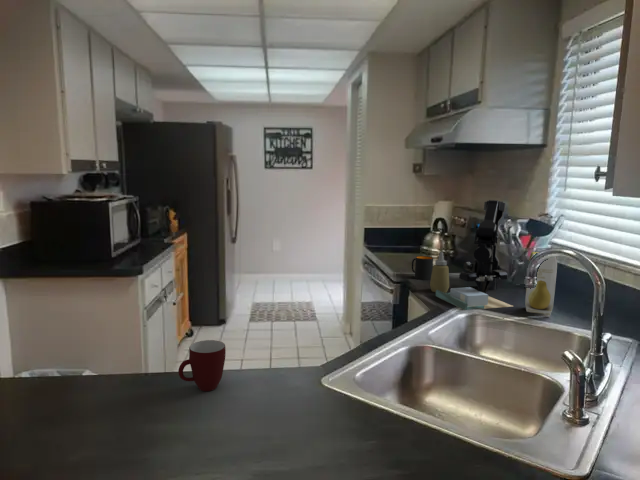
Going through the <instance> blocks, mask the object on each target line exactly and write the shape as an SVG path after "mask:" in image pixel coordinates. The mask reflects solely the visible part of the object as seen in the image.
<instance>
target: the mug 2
mask: <svg viewBox="0 0 640 480" xmlns="http://www.w3.org/2000/svg"><path fill="white" fill-rule="evenodd" d="M414 262H415V265H414ZM433 266H434V257H432V256H429V255H427V256H425V255H418V256H415V258H413V259H412V260H411V270H412V273H414V279H416V280H419V281H431V275H432V269H433Z"/></svg>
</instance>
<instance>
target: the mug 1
mask: <svg viewBox="0 0 640 480" xmlns="http://www.w3.org/2000/svg"><path fill="white" fill-rule="evenodd" d="M188 351H189V352H188V353H189V354H188V359H185V360H183V361H182V362H181V363H180V365H179V367H178V370H177V371H178V376H179V378H180V379H181V380H182V381H185V382H194V383H195V385H196V386H197V388H198V389H199V391H201V392H202V391H203V392H211V391H214V390H216V389H217V387H218V386H219V383H220V382H221V380H222V377H223V373H224V368H225V361H226V351H227V350H226V344H225V343H224V342H222V341H220V340H213V339H206V340H200V341H199V340H198V341H196V342H194V343H192V344H190V346H189V350H188ZM188 365H189V366H190V369H191V374H192V377H191V376H190V377H187V376H185V375H184V369H185V368H186V366H188Z"/></svg>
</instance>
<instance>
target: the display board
mask: <svg viewBox="0 0 640 480" xmlns="http://www.w3.org/2000/svg"><path fill="white" fill-rule="evenodd" d="M435 297H437V298H439V299H441V300H442V301H445V302H447V303H449V304H451V305H453V306H456V307H457V308H459V309H461V310H463V311H470V310H482V309H483V310H485V309H486V310H487V309H497V308H510V307H513V308H514V305H512V304H509V303H507V302H504V301H502V300H499V299H496V298H494V297H492V296H489V295H488V305H478V306H467V303H466V302H464V301H461V300H459V299H457V298H455V297H453V296H450V292H446V293H444V292H442V291H439V290H436V292H435Z"/></svg>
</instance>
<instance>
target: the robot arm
mask: <svg viewBox="0 0 640 480" xmlns="http://www.w3.org/2000/svg"><path fill="white" fill-rule="evenodd" d="M483 204H484V205H483V211H484V212H485V214H484V219H483V221H482V222H480V223H479V225H478V228H476V230H475V236H474V240H473V241H474V242H473V245H477V248H476V249H475V250H474V252H473V257H474V260H473V261H474V262H473V263H471V262H470V261H465V262H463V270H464V271H461V272H460V273H459V280H463V281H466V282H468V283H469V282H474V283H475V285H476V287H477V290H478V291H480V292H483V293H485V294H487V292H488V291H494V290H497V289H498V280H500V281H501V280H508V273H507V271H503V270H502V267H501V265H500V259H499V258H498V256H497V248H498V243H499V242H498V240H499V235H500V233H499V226H500V221H501V220H502V218H503V217H504V215H505V214H504V213H506V209H507V208H506V206H507V204H506V202H504V201H503V200H502V201H499V200H495V199H489V200H486V201H484V203H483Z"/></svg>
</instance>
